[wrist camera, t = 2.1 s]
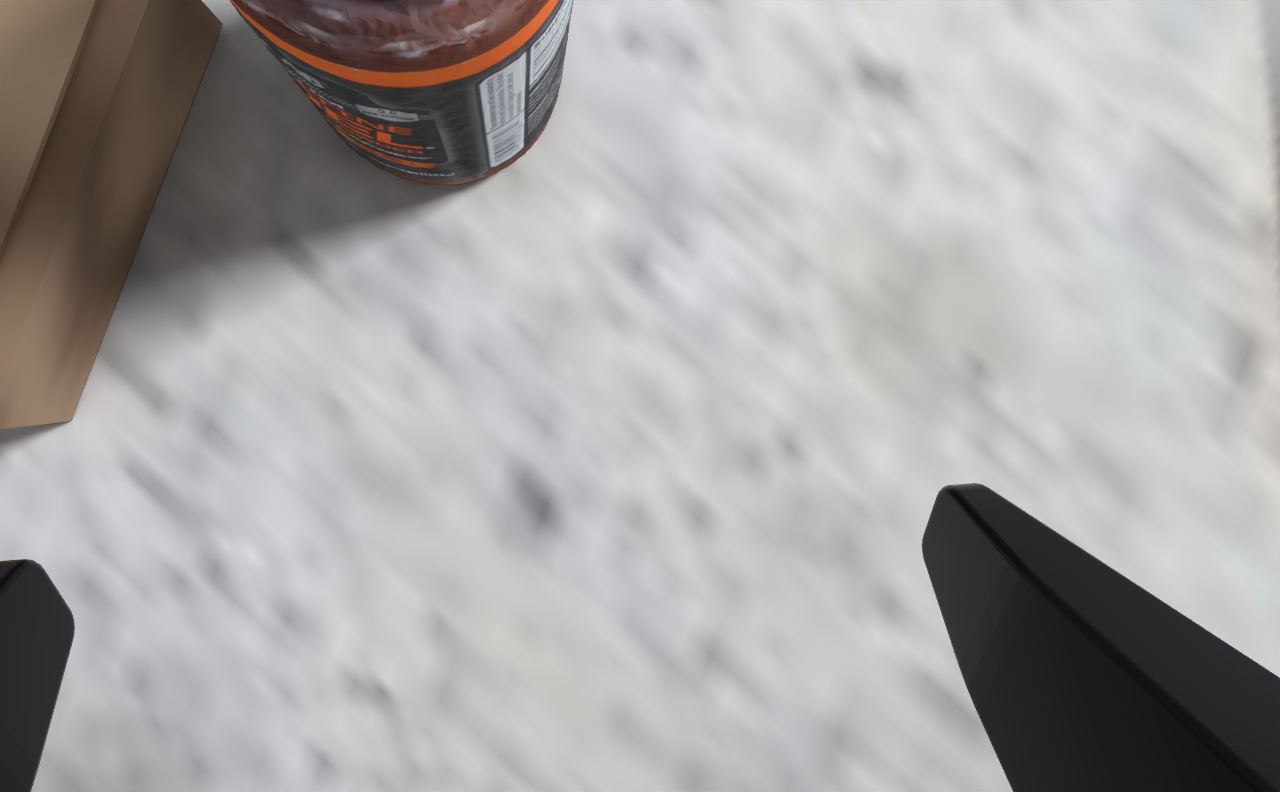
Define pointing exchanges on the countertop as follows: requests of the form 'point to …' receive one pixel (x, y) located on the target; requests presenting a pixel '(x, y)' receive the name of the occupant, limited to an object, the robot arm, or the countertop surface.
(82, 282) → the walnut plinth
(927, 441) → the countertop surface
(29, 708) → the robot arm
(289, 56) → the supplement bottle
